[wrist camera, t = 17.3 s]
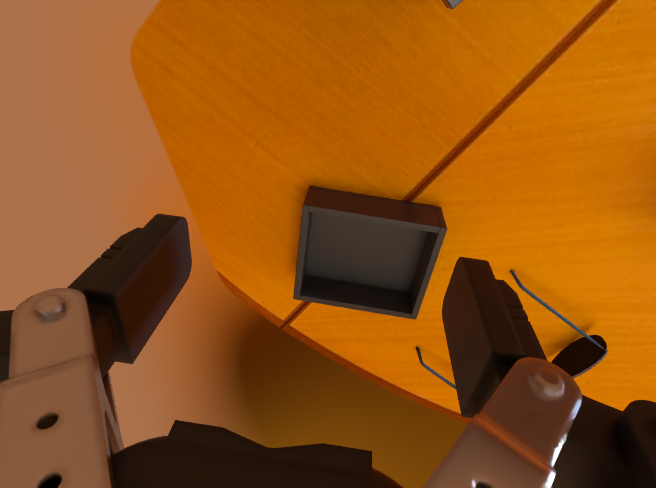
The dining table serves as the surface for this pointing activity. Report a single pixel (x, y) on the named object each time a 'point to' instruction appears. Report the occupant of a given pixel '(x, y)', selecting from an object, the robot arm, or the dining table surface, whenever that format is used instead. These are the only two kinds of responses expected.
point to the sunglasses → (570, 357)
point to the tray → (451, 3)
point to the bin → (366, 251)
